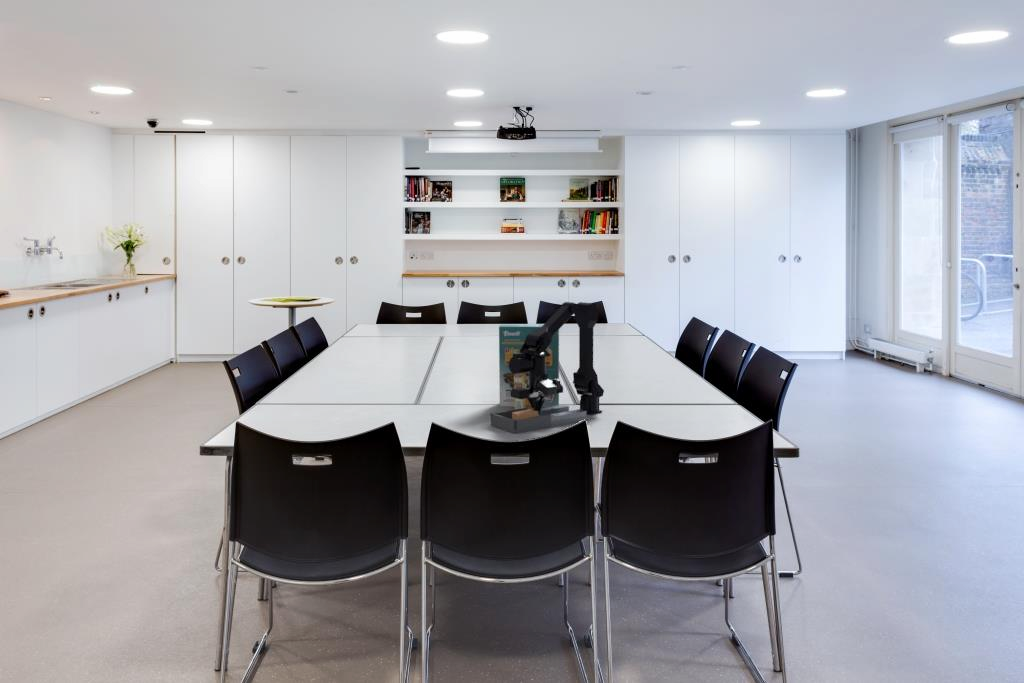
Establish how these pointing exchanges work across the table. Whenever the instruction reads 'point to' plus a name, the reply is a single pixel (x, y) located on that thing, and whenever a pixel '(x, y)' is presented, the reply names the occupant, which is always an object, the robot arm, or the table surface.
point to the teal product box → (512, 343)
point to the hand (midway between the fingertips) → (537, 415)
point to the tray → (519, 421)
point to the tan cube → (519, 415)
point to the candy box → (521, 381)
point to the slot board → (563, 415)
